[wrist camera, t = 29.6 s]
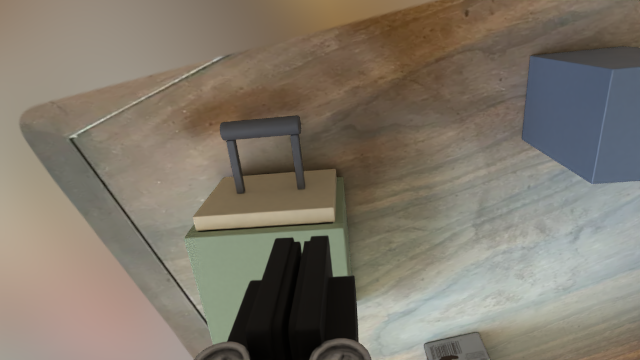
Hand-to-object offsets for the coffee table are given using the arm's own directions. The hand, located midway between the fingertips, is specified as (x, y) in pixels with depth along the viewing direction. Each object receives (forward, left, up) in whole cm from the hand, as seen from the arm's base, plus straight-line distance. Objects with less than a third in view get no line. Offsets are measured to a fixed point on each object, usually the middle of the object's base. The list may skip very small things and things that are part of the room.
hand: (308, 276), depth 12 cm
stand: (-20, 0, -23) cm, 30 cm away
